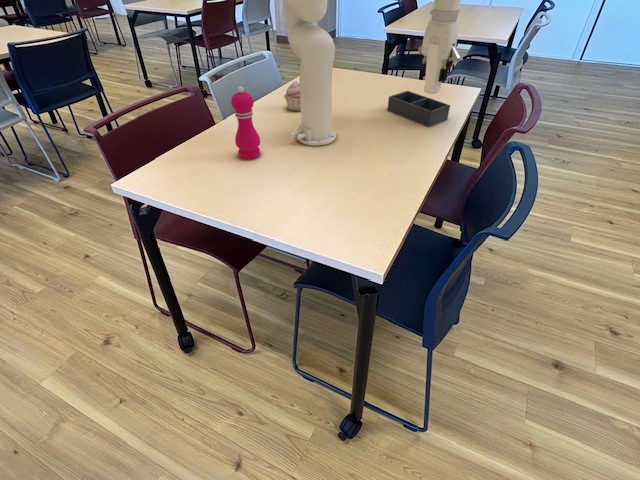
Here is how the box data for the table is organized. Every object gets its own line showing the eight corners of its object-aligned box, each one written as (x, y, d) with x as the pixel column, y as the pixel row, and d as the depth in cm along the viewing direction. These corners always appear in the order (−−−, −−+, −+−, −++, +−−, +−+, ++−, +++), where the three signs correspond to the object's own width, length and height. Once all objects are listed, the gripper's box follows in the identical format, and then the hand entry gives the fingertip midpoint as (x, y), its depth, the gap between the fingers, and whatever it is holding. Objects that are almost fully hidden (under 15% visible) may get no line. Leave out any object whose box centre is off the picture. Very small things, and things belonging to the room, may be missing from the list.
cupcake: (308, 113, 139) (308, 85, 133) (283, 113, 139) (281, 85, 133) (310, 103, 146) (309, 76, 140) (285, 103, 146) (284, 76, 140)
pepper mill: (238, 162, 110) (227, 92, 97) (236, 151, 116) (225, 83, 103) (263, 158, 112) (255, 89, 99) (259, 148, 117) (252, 81, 104)
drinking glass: (440, 88, 130) (449, 40, 121) (443, 95, 125) (453, 45, 116) (420, 87, 131) (427, 40, 121) (422, 94, 126) (430, 45, 116)
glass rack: (428, 126, 129) (431, 112, 125) (387, 110, 140) (388, 96, 137) (447, 119, 133) (450, 105, 130) (405, 104, 145) (407, 90, 142)
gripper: (414, 13, 117) (406, 74, 129) (461, 22, 107) (448, 87, 118) (430, 11, 121) (420, 70, 132) (477, 18, 110) (462, 82, 122)
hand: (433, 77), depth 125 cm, fingers closed on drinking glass, 6 cm apart
